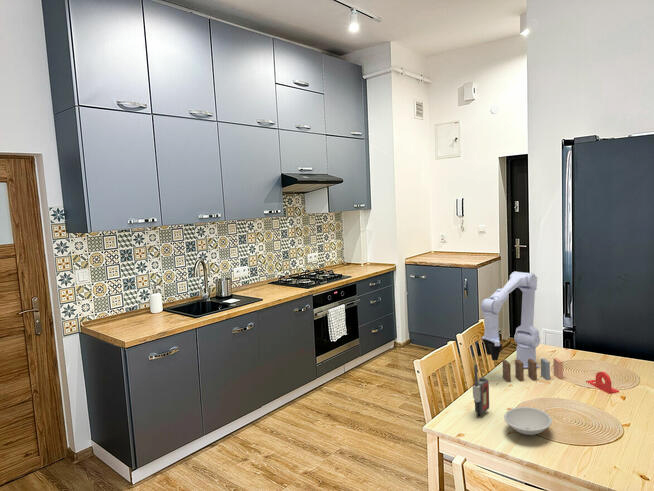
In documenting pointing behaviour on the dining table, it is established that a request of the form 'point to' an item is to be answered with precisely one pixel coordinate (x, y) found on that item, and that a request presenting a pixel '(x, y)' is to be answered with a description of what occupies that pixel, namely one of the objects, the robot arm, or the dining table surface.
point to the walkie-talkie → (480, 393)
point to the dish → (528, 420)
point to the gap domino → (545, 369)
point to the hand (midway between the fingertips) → (492, 357)
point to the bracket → (601, 385)
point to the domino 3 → (558, 368)
